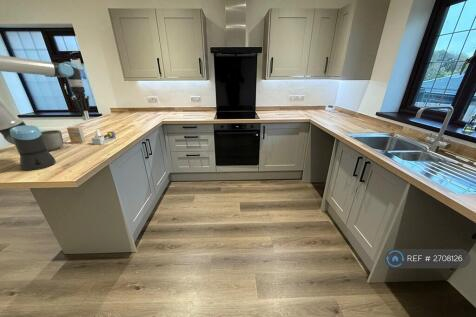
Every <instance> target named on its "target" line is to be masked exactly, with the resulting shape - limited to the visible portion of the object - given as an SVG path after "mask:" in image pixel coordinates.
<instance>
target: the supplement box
mask: <svg viewBox="0 0 476 317" xmlns="http://www.w3.org/2000/svg"><path fill="white" fill-rule="evenodd" d="M66 130H67V134H68V136H69V139H70V142H71V144H83V143H85V142H86V140H85V136H84V133H83V129H82V126H68V127H67V128H66Z"/></svg>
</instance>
